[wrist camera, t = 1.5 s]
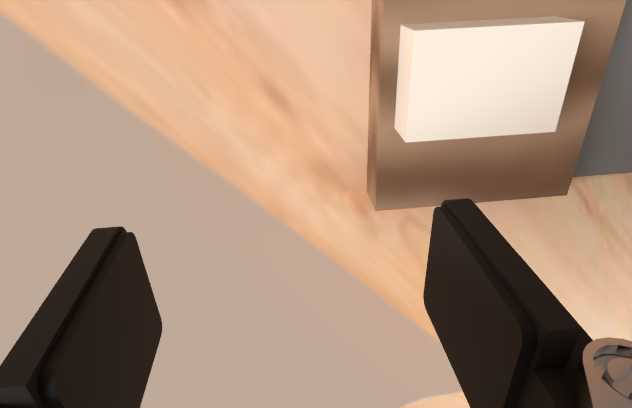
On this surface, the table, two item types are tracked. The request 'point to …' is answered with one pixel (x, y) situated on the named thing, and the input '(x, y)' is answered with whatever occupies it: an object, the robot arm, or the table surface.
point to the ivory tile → (483, 77)
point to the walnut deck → (482, 152)
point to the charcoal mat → (611, 111)
